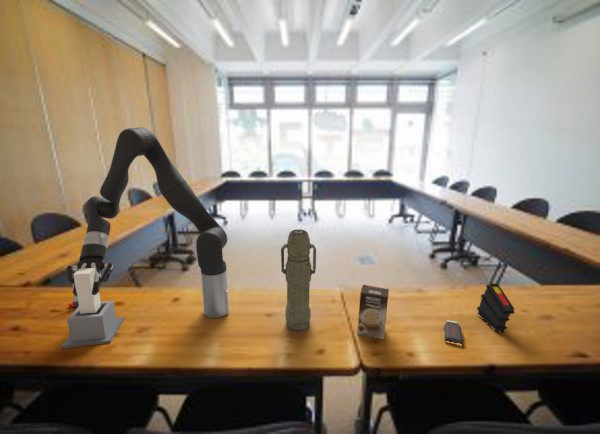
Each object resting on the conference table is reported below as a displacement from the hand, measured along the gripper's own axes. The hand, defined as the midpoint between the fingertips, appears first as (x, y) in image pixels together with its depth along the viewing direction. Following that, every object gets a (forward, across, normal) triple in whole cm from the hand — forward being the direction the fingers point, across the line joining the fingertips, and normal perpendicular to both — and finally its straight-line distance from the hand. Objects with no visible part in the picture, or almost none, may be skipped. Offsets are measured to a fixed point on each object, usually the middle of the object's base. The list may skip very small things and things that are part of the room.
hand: (85, 294), depth 101 cm
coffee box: (+23, +93, -2) cm, 96 cm away
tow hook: (-6, -12, +29) cm, 32 cm away
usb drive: (+28, +120, -6) cm, 124 cm away
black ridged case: (+26, +138, -6) cm, 141 cm away
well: (+10, 0, +12) cm, 15 cm away
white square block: (+3, 0, +6) cm, 7 cm away
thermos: (+16, +69, +5) cm, 71 cm away
